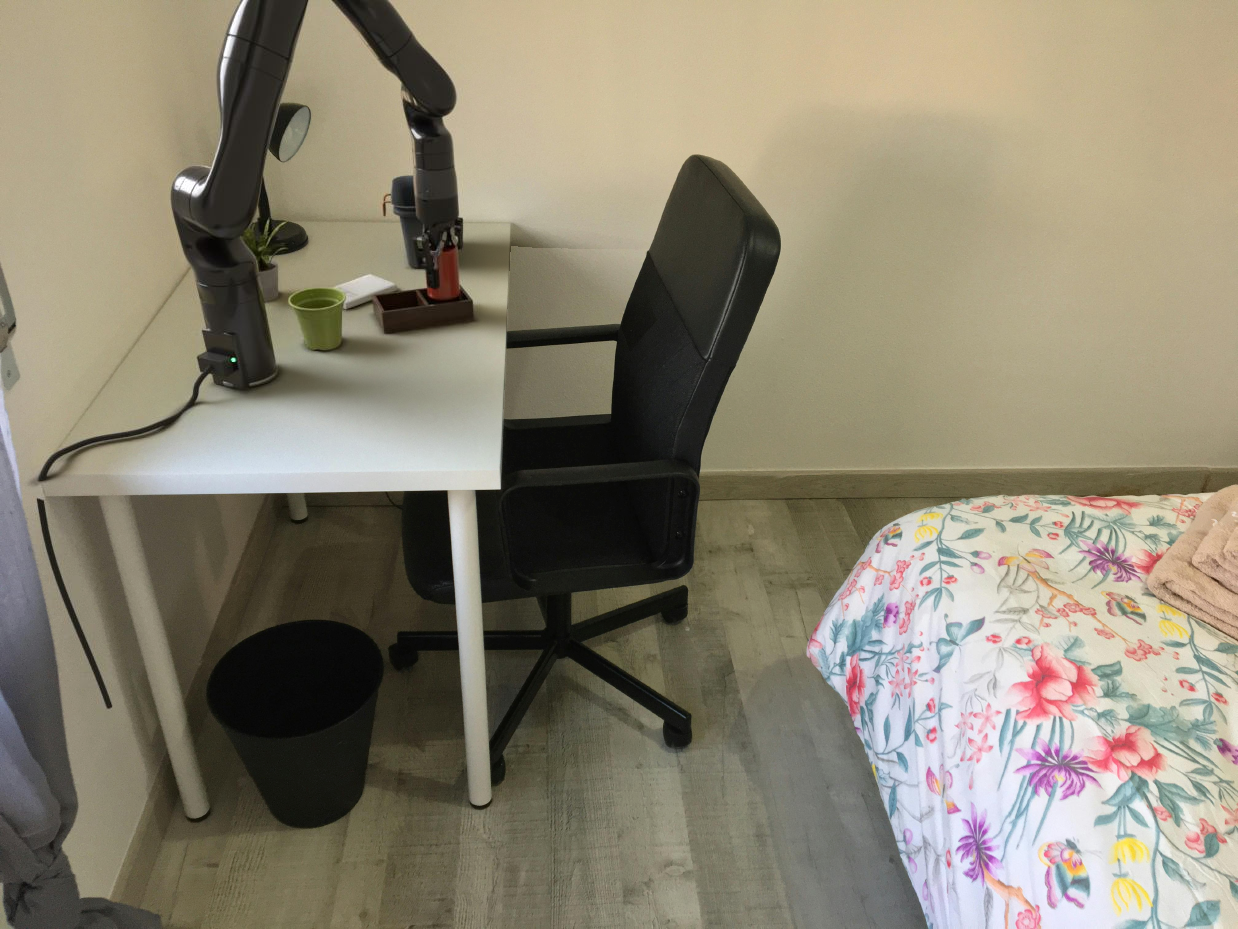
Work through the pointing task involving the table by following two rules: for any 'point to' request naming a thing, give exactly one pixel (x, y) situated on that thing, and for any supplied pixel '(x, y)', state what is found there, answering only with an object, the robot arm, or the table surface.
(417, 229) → the storage bin
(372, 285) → the hard drive
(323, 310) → the plant pot
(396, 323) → the caddy
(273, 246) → the house plant
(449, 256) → the cup
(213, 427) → the table surface
